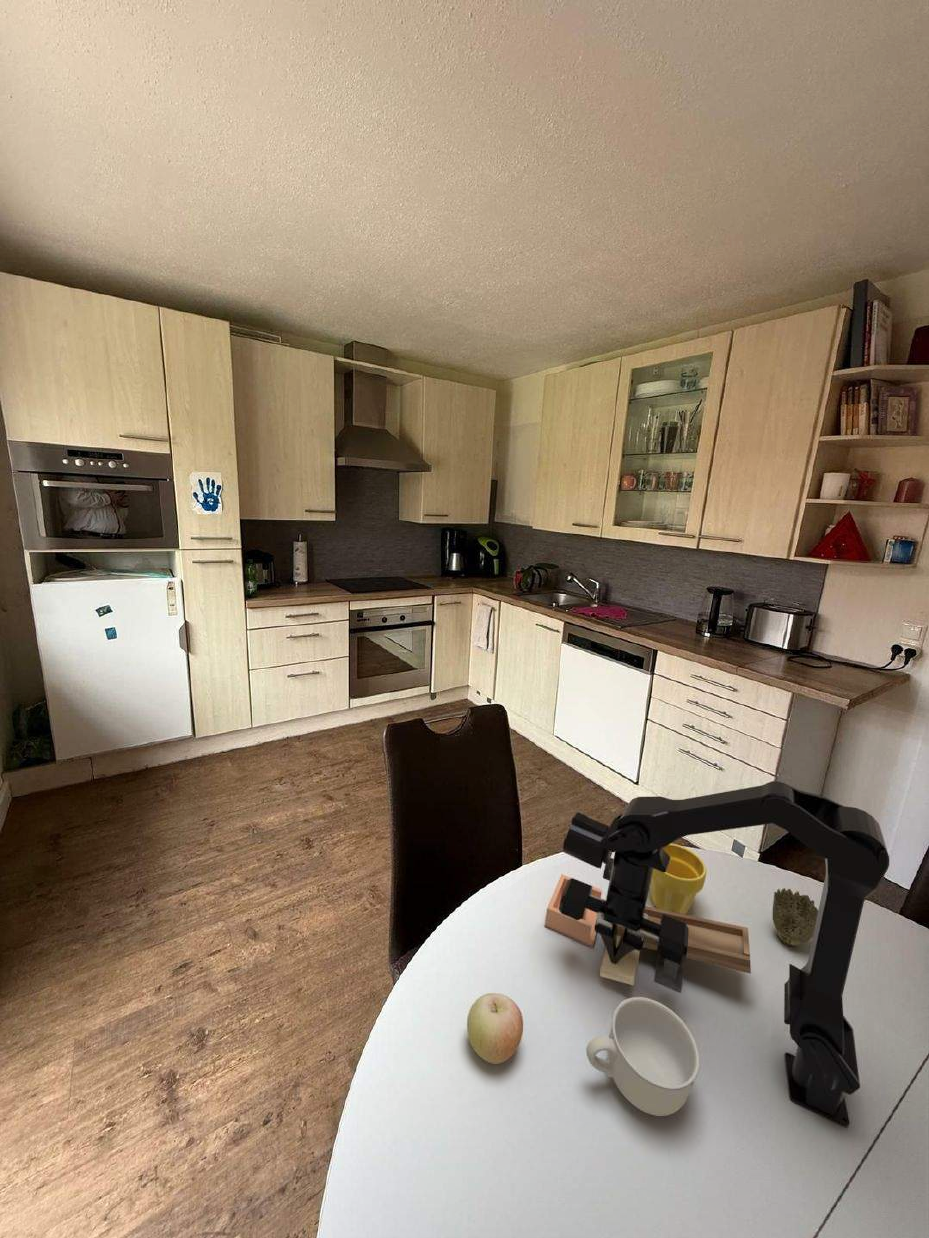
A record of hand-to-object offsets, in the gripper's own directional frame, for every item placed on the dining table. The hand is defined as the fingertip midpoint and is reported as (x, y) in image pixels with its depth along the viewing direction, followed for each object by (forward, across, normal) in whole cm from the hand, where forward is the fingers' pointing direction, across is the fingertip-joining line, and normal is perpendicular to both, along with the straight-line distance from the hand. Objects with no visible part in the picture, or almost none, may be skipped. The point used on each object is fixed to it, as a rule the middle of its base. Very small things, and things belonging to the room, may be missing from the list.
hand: (613, 960), depth 81 cm
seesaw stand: (+3, -8, -9) cm, 13 cm away
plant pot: (+3, -7, -22) cm, 23 cm away
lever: (-1, -8, -5) cm, 10 cm away
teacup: (+3, -6, +14) cm, 15 cm away
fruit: (+4, +12, +19) cm, 23 cm away
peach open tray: (+3, +8, -9) cm, 13 cm away
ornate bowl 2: (+3, -28, -24) cm, 37 cm away
